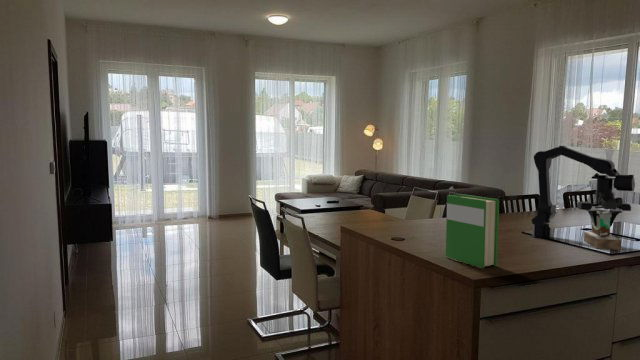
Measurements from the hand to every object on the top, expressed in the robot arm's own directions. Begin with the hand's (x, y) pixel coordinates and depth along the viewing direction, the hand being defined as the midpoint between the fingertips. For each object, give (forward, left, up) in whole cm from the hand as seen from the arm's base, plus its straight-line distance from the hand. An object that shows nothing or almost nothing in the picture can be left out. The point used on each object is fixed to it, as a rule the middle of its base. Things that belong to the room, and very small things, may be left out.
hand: (602, 226), depth 191 cm
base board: (0, 0, -8) cm, 8 cm away
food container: (+1, +1, -4) cm, 4 cm away
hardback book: (-57, -40, -8) cm, 70 cm away
